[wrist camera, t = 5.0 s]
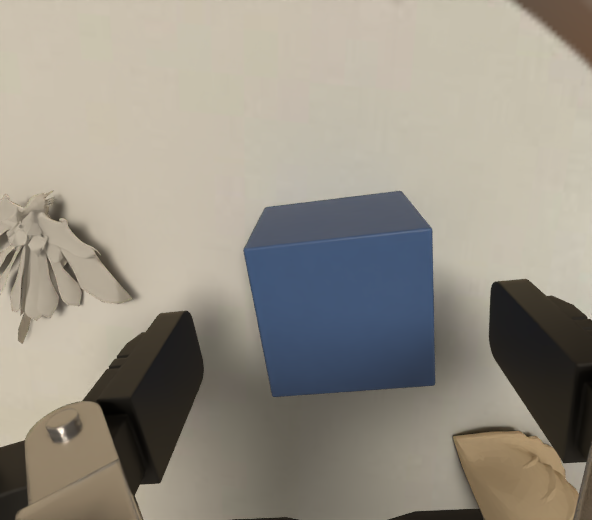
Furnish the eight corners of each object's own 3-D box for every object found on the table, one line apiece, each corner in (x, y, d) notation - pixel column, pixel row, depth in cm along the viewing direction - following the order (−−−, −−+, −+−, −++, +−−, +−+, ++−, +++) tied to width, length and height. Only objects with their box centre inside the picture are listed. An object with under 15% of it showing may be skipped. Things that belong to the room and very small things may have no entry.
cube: (401, 190, 15) (433, 227, 11) (407, 313, 17) (435, 386, 12) (264, 206, 15) (242, 248, 11) (284, 324, 17) (272, 398, 13)
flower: (123, 358, 19) (92, 404, 17) (-46, 291, 19) (-103, 330, 16) (160, 228, 16) (126, 266, 13) (-51, 137, 15) (-128, 160, 12)
